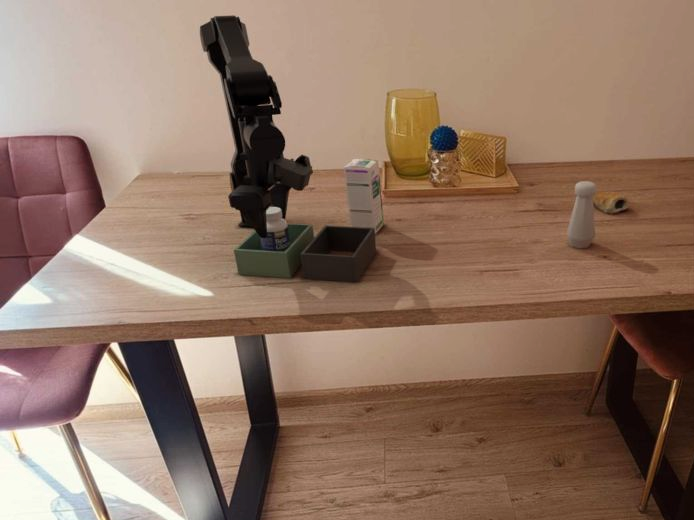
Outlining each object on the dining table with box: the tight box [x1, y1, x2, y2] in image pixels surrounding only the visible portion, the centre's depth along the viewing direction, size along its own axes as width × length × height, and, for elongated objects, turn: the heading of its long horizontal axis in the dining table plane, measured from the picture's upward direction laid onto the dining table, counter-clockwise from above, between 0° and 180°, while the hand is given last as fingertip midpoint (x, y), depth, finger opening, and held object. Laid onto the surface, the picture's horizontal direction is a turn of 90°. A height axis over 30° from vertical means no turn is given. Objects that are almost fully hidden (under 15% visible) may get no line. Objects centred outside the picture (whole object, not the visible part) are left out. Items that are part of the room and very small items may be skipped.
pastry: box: [593, 191, 630, 215], centre depth 151 cm, size 9×7×4 cm
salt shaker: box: [566, 180, 598, 249], centre depth 129 cm, size 6×6×13 cm
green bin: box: [233, 222, 315, 279], centre depth 125 cm, size 10×14×5 cm
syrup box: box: [343, 158, 385, 235], centre depth 136 cm, size 6×6×14 cm
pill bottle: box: [260, 207, 290, 252], centre depth 123 cm, size 5×5×10 cm
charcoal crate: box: [300, 224, 377, 283], centre depth 123 cm, size 10×14×5 cm
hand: (273, 228), depth 122 cm, fingers open, 9 cm apart
